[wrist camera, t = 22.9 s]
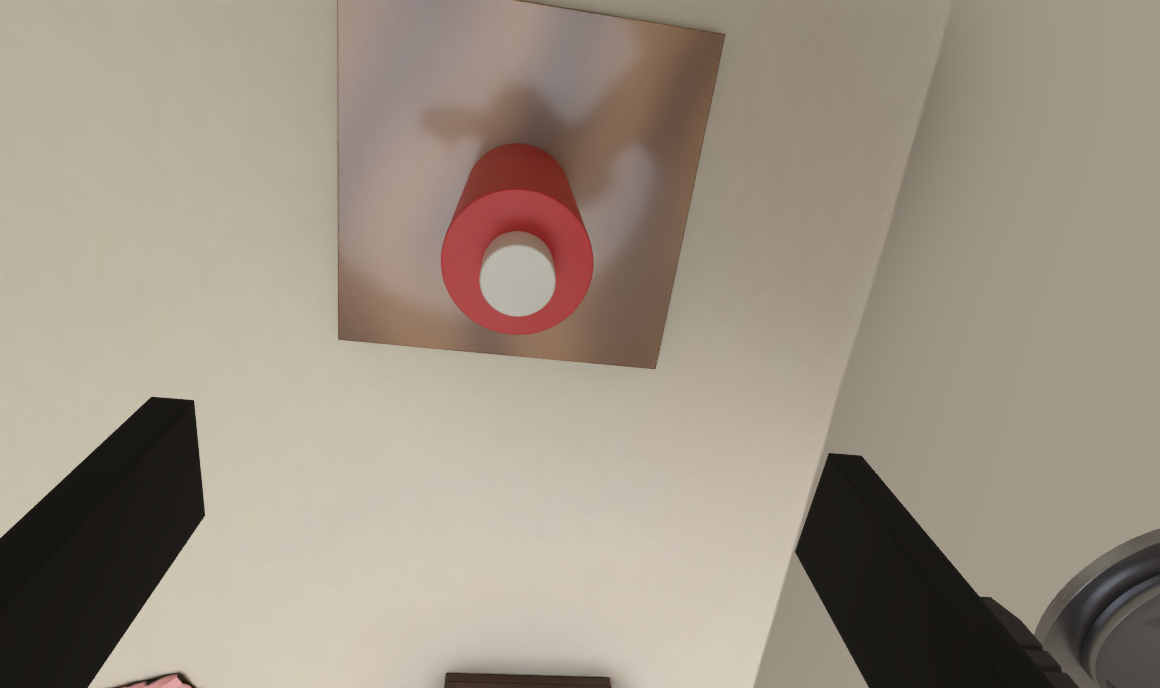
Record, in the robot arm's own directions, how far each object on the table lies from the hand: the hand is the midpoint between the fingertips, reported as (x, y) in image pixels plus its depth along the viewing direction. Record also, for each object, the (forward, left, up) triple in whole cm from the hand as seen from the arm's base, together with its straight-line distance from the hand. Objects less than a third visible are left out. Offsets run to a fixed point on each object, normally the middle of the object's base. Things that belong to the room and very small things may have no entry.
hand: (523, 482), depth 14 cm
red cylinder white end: (0, -1, -27) cm, 27 cm away
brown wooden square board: (0, -1, -27) cm, 27 cm away
